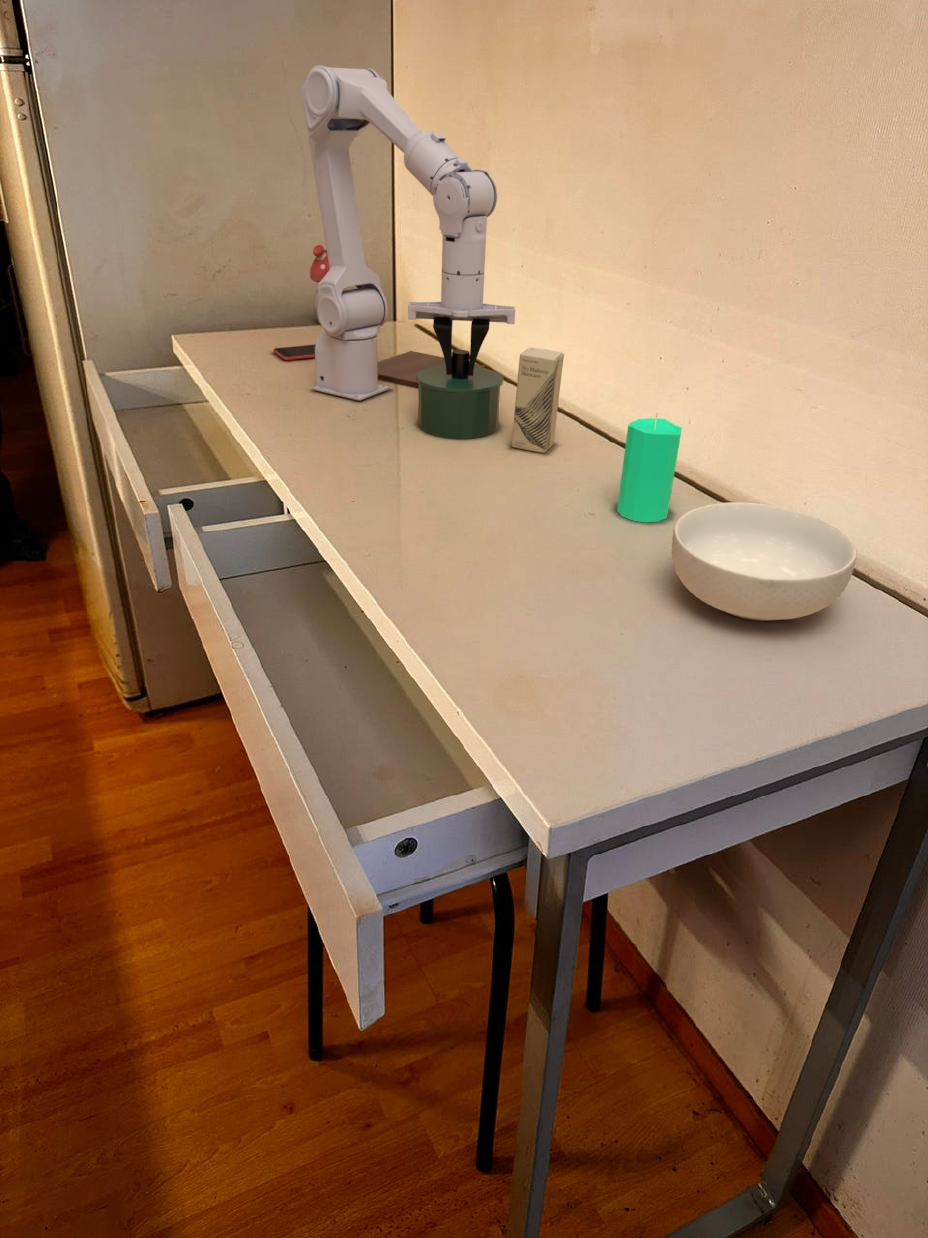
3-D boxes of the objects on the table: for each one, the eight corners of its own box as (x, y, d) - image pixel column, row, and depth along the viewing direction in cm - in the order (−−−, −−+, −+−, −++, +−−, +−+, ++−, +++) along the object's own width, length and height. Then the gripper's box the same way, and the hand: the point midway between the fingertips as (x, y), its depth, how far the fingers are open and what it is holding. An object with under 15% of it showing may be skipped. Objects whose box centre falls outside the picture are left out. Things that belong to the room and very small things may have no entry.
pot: (403, 427, 129) (403, 382, 125) (446, 408, 137) (447, 365, 134) (470, 444, 124) (472, 398, 120) (511, 423, 132) (514, 379, 129)
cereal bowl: (694, 548, 98) (705, 487, 94) (853, 589, 91) (872, 525, 87) (638, 613, 85) (648, 546, 82) (818, 667, 78) (838, 596, 75)
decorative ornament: (319, 327, 179) (315, 247, 171) (304, 321, 184) (300, 242, 176) (360, 323, 184) (358, 244, 176) (345, 316, 188) (342, 239, 181)
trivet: (356, 373, 152) (356, 369, 151) (410, 355, 163) (410, 350, 163) (435, 391, 145) (435, 386, 144) (486, 370, 156) (486, 365, 156)
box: (510, 448, 123) (516, 353, 116) (520, 438, 127) (527, 345, 120) (547, 454, 121) (555, 358, 115) (556, 444, 125) (565, 351, 118)
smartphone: (358, 350, 162) (284, 357, 156) (358, 353, 163) (284, 360, 157) (343, 341, 168) (271, 348, 161) (343, 344, 168) (271, 351, 162)
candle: (637, 525, 102) (652, 423, 96) (606, 506, 107) (619, 407, 101) (678, 517, 105) (695, 417, 99) (647, 498, 109) (661, 401, 103)
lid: (398, 385, 126) (398, 352, 124) (449, 367, 135) (449, 336, 133) (471, 403, 120) (473, 368, 118) (519, 383, 129) (521, 350, 127)
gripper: (406, 274, 116) (405, 378, 123) (517, 279, 116) (511, 383, 123) (410, 265, 122) (410, 365, 129) (517, 269, 122) (510, 369, 129)
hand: (459, 373), depth 127 cm, fingers closed on lid, 2 cm apart
